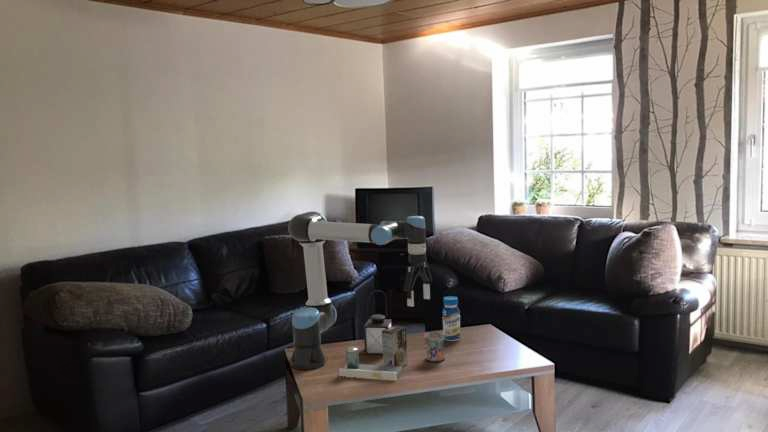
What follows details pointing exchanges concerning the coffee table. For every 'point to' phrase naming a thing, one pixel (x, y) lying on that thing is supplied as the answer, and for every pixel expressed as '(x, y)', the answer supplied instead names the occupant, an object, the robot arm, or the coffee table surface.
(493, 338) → the coffee table surface
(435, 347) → the mug
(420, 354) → the coffee table surface
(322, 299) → the robot arm
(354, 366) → the tea tin
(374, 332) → the lantern
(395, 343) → the coffee box
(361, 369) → the shelf board
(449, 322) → the beverage bottle
